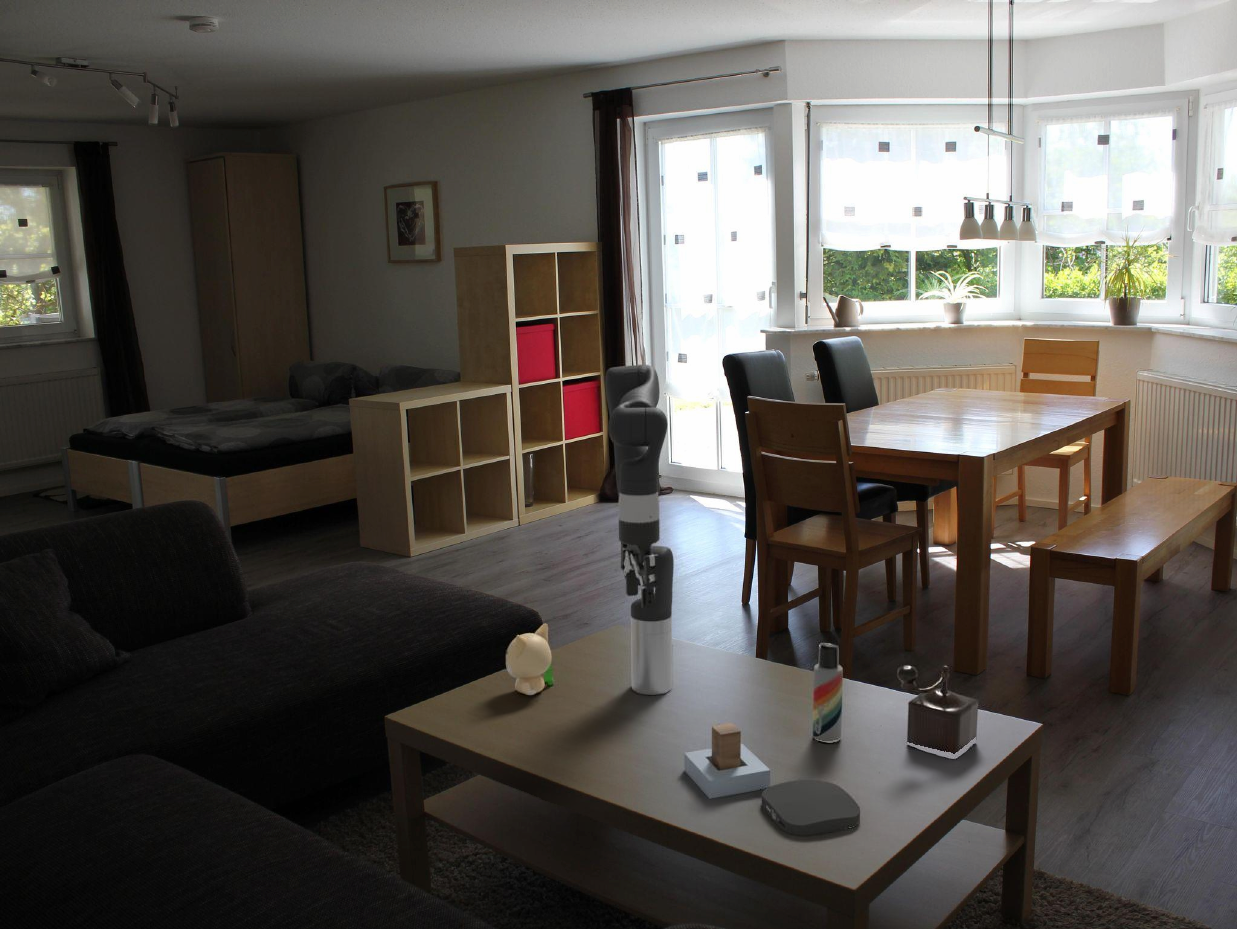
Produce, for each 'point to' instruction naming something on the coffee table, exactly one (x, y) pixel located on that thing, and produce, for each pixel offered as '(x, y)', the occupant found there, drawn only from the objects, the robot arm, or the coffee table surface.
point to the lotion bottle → (827, 694)
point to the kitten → (530, 661)
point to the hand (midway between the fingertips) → (639, 601)
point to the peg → (726, 746)
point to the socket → (726, 774)
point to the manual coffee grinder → (938, 714)
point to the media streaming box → (810, 807)
